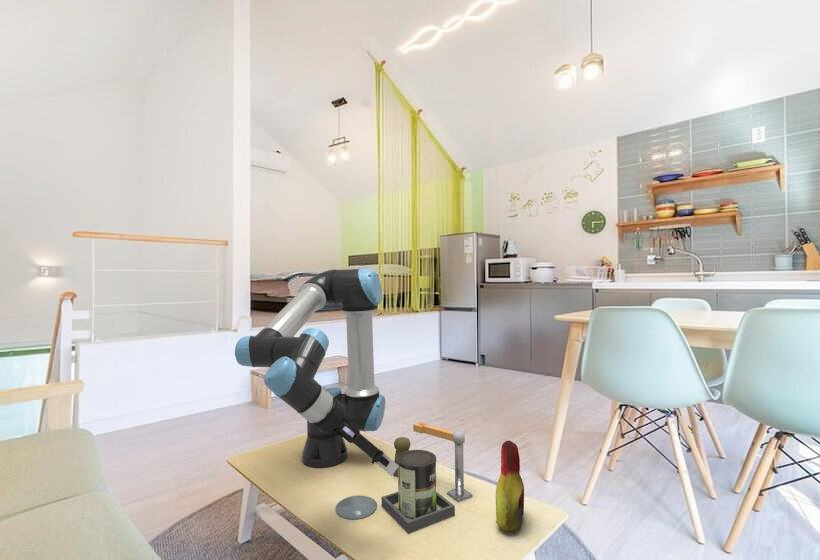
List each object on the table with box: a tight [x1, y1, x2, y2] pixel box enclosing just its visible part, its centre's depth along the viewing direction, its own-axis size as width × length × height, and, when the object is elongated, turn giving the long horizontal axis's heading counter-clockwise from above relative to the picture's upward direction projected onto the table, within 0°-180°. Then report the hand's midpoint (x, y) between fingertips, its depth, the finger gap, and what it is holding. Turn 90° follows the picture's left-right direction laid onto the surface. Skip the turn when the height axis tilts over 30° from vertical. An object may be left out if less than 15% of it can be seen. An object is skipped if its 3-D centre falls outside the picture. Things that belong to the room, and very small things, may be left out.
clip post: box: [446, 443, 473, 503], centre depth 114 cm, size 5×5×15 cm
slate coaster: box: [335, 495, 378, 521], centre depth 108 cm, size 11×11×1 cm
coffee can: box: [397, 449, 438, 520], centre depth 106 cm, size 10×10×14 cm
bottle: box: [495, 440, 525, 532], centre depth 101 cm, size 12×6×20 cm, turn 149°
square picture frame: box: [381, 491, 456, 535], centre depth 106 cm, size 14×14×2 cm
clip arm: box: [412, 421, 466, 444], centre depth 118 cm, size 3×17×3 cm, turn 51°
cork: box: [392, 436, 411, 479], centre depth 127 cm, size 6×6×11 cm
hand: (381, 459), depth 101 cm, fingers open, 13 cm apart
